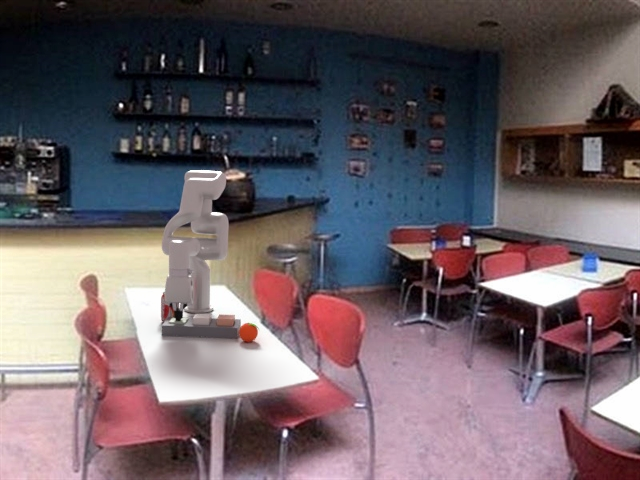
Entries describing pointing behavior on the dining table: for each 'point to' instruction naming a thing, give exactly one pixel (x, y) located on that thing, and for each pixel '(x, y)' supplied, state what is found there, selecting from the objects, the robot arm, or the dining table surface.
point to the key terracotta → (226, 320)
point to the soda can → (166, 309)
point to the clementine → (248, 332)
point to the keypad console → (201, 329)
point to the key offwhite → (202, 319)
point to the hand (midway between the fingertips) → (178, 320)
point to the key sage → (182, 321)
